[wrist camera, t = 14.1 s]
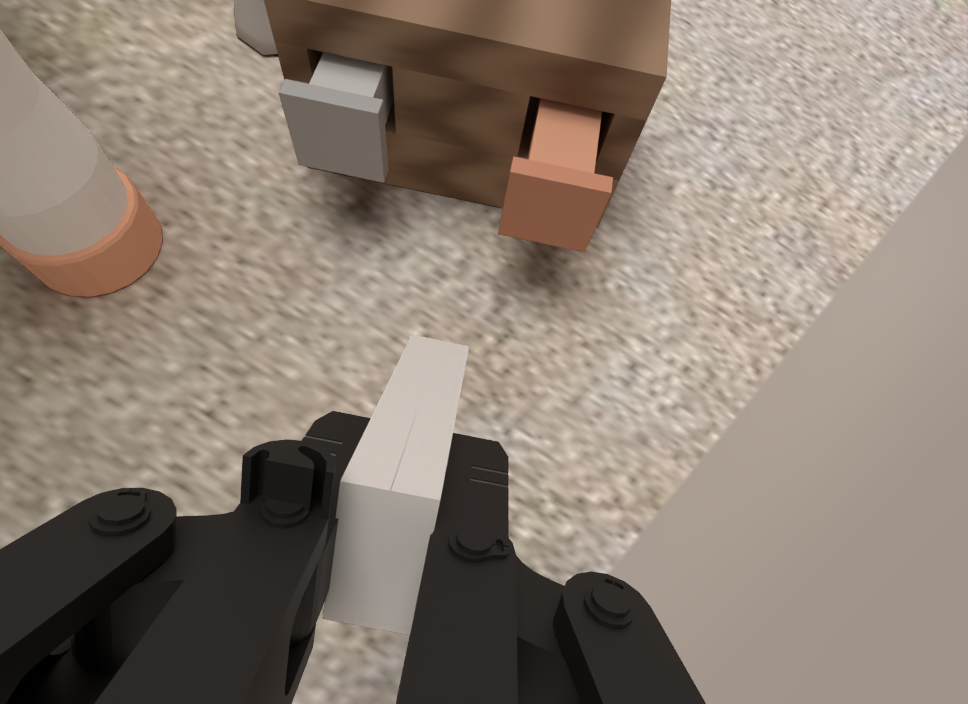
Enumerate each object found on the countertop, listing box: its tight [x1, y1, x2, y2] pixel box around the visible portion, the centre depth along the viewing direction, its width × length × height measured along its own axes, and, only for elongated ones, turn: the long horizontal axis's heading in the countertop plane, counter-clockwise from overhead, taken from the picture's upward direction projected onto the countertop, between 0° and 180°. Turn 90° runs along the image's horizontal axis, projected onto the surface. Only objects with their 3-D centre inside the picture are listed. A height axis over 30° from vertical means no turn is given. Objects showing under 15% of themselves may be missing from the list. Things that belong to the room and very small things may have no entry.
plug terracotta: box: [498, 98, 613, 252], centre depth 33 cm, size 5×14×5 cm, turn 170°
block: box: [264, 0, 671, 228], centre depth 35 cm, size 20×10×12 cm, turn 80°
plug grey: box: [279, 52, 394, 183], centre depth 33 cm, size 5×14×5 cm, turn 170°
